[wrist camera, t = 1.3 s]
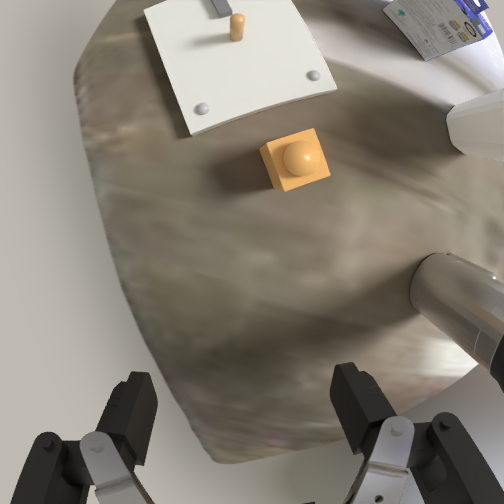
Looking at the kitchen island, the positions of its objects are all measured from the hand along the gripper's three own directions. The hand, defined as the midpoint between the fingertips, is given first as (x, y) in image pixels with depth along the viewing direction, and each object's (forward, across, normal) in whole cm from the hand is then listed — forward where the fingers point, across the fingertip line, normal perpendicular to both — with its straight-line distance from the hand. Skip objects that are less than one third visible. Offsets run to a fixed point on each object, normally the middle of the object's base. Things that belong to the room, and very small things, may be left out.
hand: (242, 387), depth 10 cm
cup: (+20, -32, -18) cm, 42 cm away
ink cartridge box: (+20, -25, -32) cm, 45 cm away
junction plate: (+20, 0, -24) cm, 31 cm away
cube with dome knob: (+20, -6, -10) cm, 23 cm away
